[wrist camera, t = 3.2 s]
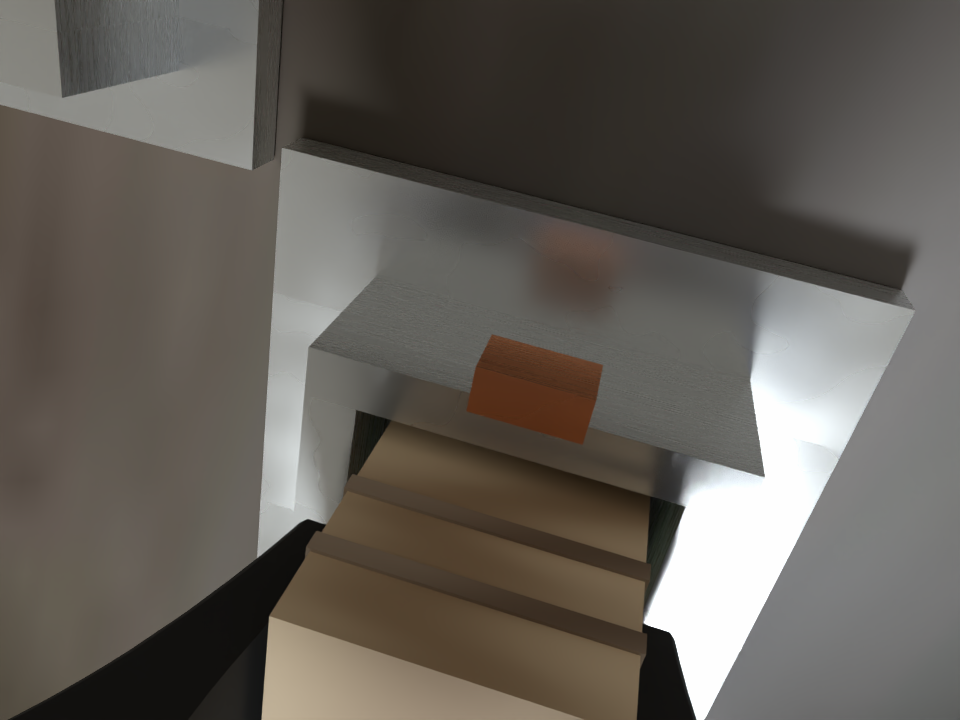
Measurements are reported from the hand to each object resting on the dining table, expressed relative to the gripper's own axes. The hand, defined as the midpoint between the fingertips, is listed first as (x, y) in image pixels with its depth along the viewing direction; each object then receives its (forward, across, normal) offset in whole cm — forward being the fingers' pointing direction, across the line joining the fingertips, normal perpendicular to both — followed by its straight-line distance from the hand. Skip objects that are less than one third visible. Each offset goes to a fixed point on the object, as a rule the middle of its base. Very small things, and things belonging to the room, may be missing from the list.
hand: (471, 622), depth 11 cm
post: (+4, 0, 0) cm, 4 cm away
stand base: (+4, 0, 0) cm, 4 cm away
